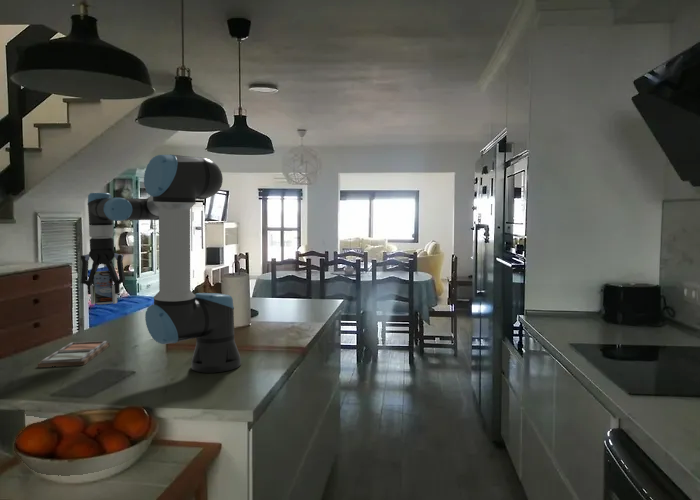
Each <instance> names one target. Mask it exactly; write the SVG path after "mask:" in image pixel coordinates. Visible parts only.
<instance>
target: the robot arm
mask: <svg viewBox="0 0 700 500" xmlns="http://www.w3.org/2000/svg"><path fill="white" fill-rule="evenodd" d="M143 174H144V176H143V186H144V188H145V192H146V193H147V194H148V195H149V196H148V197H146V198H145V197H144V198H140V197H139V198H132V197H129V198H127V197H112V194H111V193H109V192H91V193H89V194H88V196H87V211H88V212H87V213H88V232H89V233H88V235H89V237H90V238H89V253H88V254H83V255H81V256H80V260H81V280H80V283H81V284H83V285H86V287H87V295H89V296H90V305H95V304H96V303H95V293H94V274H95V272H97V271H98V268H99V267H100V265H105V266H106V267H107V269H108V270H107V271H109V272H110V275H111V277H112V279H113V285H112V299H113V302H112V305H113V304H117V303H118V294H120V292H121V289H120V288H121V287H120V284H123V283H125V282H126V276H125V270H124V269H125V268H124V263H123V262H124V261H123V260H124V254H122V253H121V254H119V253H116V252H115V248H114V247H115V244H114V238H112V237H113V236H114V223H113V222H123V221H158V268H159V269H158V275H159V277H158V287H159V289H158V290H159V291H158V292H157V293H156V294H155V295H154V296H153V304H151V305H149V306H148V307H147V309H146V311H145V315H144V316H145V326H146V328H147V331H148V333H149V334H150V337H152V339H153V340H154V341H155V342H156V343H158V344H161V345H166V344H176V343H178V342H182V341H188V340H191V339H195V340H196V341H195V342H196V343H195V347H194V351H193V354H192V358H191V362H190V365H191V366H190V367H191V370H192V371H193V372H197V373H205V374H206V373H207V374H209V373H210V374H211V373H213V374H214V373H215V374H216V373H222V372H228V371H232V370H234V369H237V368H239V367H240V366H241V364H242V359H241V355H240V352H239V349H238V346H237V344H236V340H235V319H234V317H235V316H234V313H235V311H234V309H235V307H234V299H233V297H232V296H231V295H229V294H227V293H226V294H224V293H213V292H197V293H194V292H193V291H191V209H192V207H194V205H196V201H197V200H199V201H200V200H201V201H202V200H206V199H208V198H211V197H212V196H215V195H216V194H218V193H219V191H220V189H222V188H221V187H222V185H223V173H222V171H221V168H219V166H218V165H217V164H216V163H215V162H214V161H212V160H211V159H209V158H206V157H199V156H197V157H196V156H189V155H188V156H187V155H179V154H157V155H155V156H153V157H152V158H151V159H150V160H149V162H148V164H146V168H145V171H144V173H143ZM114 258H115V260H116V267H117V272H116V269H115V267H114V262H113V259H114ZM90 259H91V260H92V265H91V269H90V272H89V261H90ZM88 274H89V275H88Z"/></svg>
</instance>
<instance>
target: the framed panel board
mask: <svg viewBox="0 0 700 500" xmlns="http://www.w3.org/2000/svg"><path fill="white" fill-rule="evenodd" d="M108 347H110V342H108V340H98V341H97V340H95V341H79V342H78V341H73V342H72V341H71V342H70V343H68V344H66V345H65V346H63V347H62V348H60V349H58V350H56V351H55V352H53V353H51V354H50V355H49V356H47V357H45V358H43V359H42V360H40V362H38V363H37V368H52V366H53V368H54V366H56V367H73V366H85V365H86V364H88V363H89V362H90V361H91V360H93V359H94V358H95V357H97V356H98V355H100V354H101V353H102V352H103V351H105V350H107V348H108Z"/></svg>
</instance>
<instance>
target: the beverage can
mask: <svg viewBox="0 0 700 500" xmlns="http://www.w3.org/2000/svg"><path fill="white" fill-rule="evenodd" d="M93 285H94V293H95V304H96V305H108V304H109V305H110V304H113V299H112V285H114V282H113V279H112V277H111V275H110V272H109V270H99V271H98V270H97V272H95V274H94V281H93Z"/></svg>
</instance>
